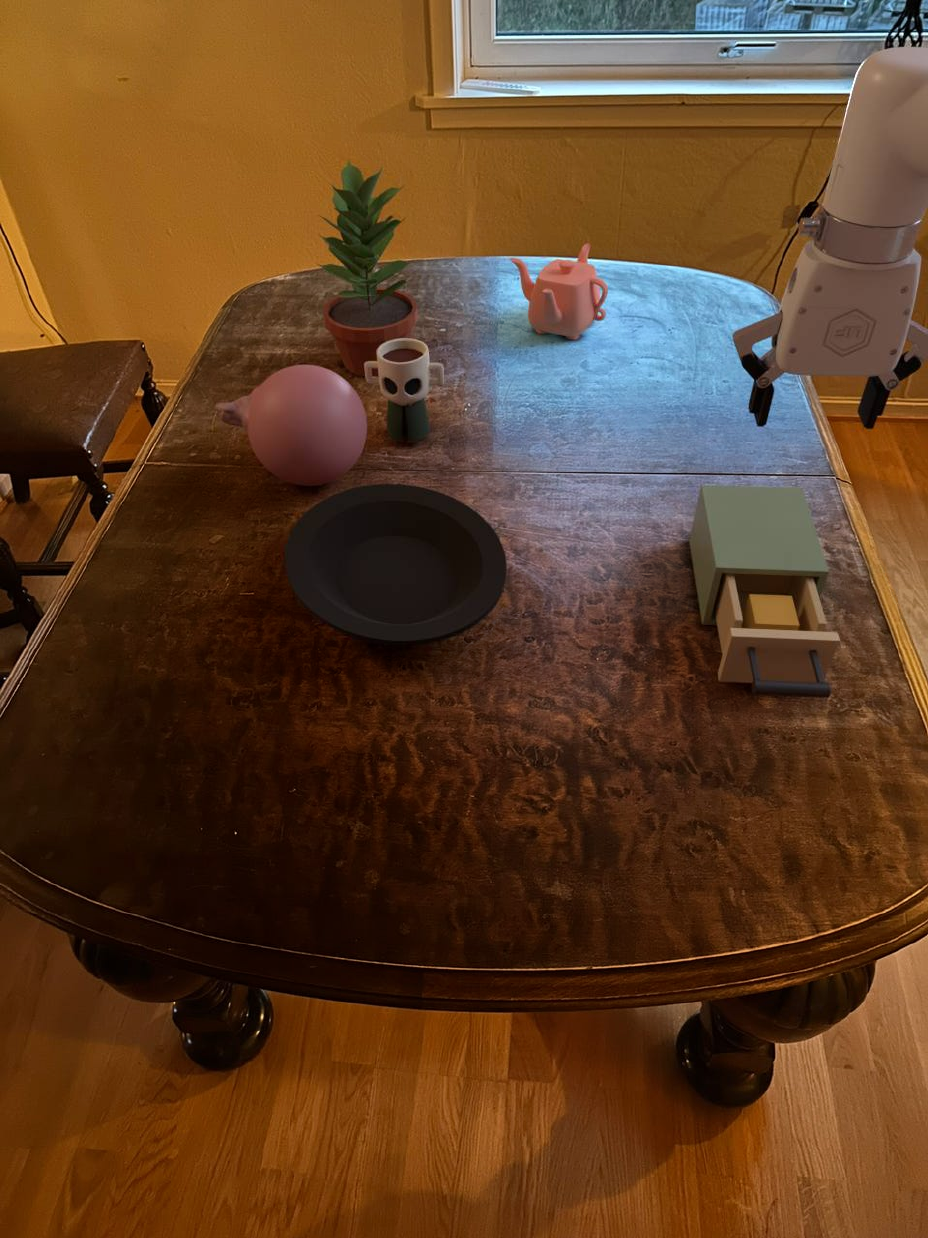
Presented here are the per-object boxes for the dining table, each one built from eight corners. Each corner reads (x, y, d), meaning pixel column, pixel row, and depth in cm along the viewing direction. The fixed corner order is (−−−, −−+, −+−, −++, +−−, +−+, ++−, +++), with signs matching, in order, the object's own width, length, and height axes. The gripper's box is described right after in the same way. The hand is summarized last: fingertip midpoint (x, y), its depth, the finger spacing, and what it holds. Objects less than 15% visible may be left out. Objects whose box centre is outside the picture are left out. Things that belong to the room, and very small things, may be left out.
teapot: (541, 354, 143) (544, 287, 135) (508, 316, 152) (508, 252, 144) (622, 337, 146) (629, 271, 138) (584, 301, 155) (589, 238, 148)
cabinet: (808, 629, 98) (829, 571, 92) (702, 625, 99) (715, 567, 93) (785, 544, 108) (802, 487, 102) (689, 540, 109) (700, 484, 103)
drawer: (833, 730, 87) (853, 685, 82) (726, 725, 88) (739, 680, 83) (797, 596, 100) (812, 550, 95) (704, 592, 101) (715, 547, 96)
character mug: (367, 446, 125) (357, 362, 116) (375, 418, 130) (366, 336, 121) (443, 449, 124) (440, 364, 115) (449, 421, 129) (445, 338, 120)
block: (782, 625, 96) (791, 595, 92) (789, 654, 92) (799, 625, 89) (740, 623, 96) (749, 593, 93) (746, 653, 93) (755, 623, 90)
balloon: (254, 433, 128) (231, 334, 117) (386, 449, 124) (376, 348, 113) (208, 497, 117) (179, 394, 106) (351, 516, 114) (337, 411, 103)
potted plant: (345, 334, 149) (321, 139, 127) (431, 344, 146) (421, 146, 124) (311, 378, 139) (279, 175, 117) (403, 390, 135) (387, 183, 114)
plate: (551, 622, 99) (553, 585, 95) (362, 712, 91) (357, 676, 87) (425, 496, 116) (423, 460, 112) (256, 562, 108) (247, 526, 104)
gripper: (762, 251, 68) (722, 440, 80) (995, 253, 67) (918, 444, 79) (747, 214, 74) (712, 396, 86) (963, 215, 72) (896, 400, 84)
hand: (811, 419), depth 82 cm, fingers open, 9 cm apart
